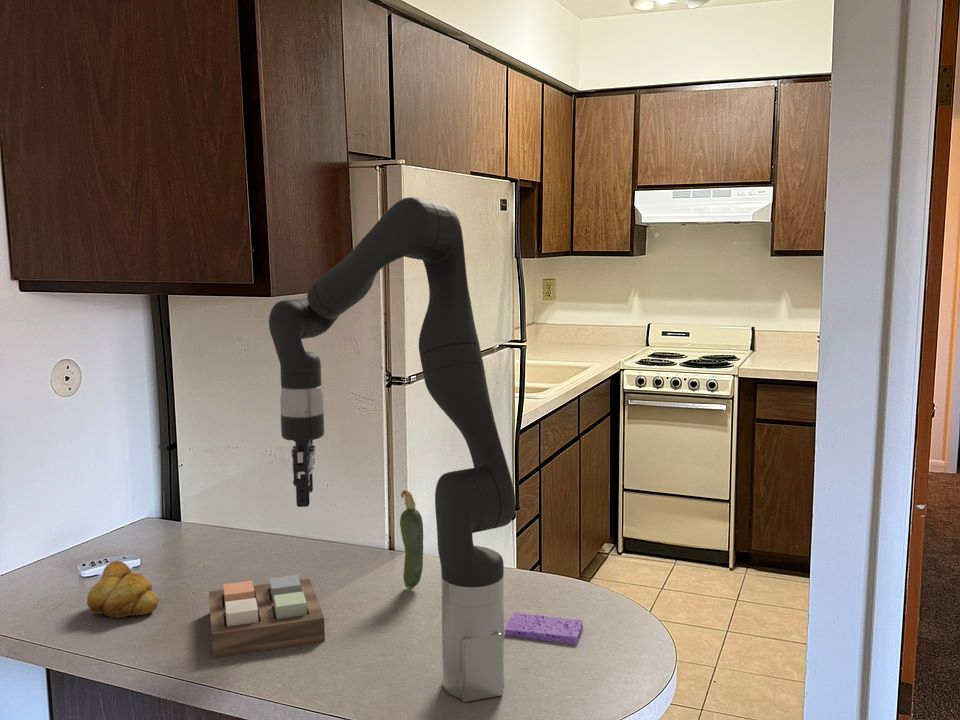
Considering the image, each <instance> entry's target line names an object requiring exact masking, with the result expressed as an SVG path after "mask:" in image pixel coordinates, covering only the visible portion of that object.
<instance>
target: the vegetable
mask: <svg viewBox="0 0 960 720" xmlns="http://www.w3.org/2000/svg"><path fill="white" fill-rule="evenodd" d="M400 497H401V499H404V505H405V510H403V512H402V513H401V515H400V518H399V528H400V533H401V538H402V544H403V545H404V562H403V564H404V565H403V577H402V578H403V583H404V587H406V589H407V590H408V591H412V590H413V589H414V588H415V587H416V586H417V585H418V584H419V583H420V581H421V578H422V573H423V568H424V567H423V566H424V564H423V563H424V561H423V560H424V523H423V517H422V515H421V512H420V511H419V510H417V508H416V505H417V504H416V502H415V500H414V497H413V494H411V492H410V491H409V490H407V489H404V490H402V492H401V493H400Z"/></svg>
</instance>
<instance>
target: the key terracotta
mask: <svg viewBox="0 0 960 720" xmlns="http://www.w3.org/2000/svg"><path fill="white" fill-rule="evenodd" d="M253 582H254V581H253V580H246V581H237V582H230V583H223V585H222V586H223V590H224V603H225V602H228V601H236V600H243V599H251V598H255V594H254V586H255V585H254V583H253Z"/></svg>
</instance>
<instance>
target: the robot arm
mask: <svg viewBox="0 0 960 720" xmlns="http://www.w3.org/2000/svg"><path fill="white" fill-rule="evenodd" d="M462 230H463V229H462V224H461V222H460V219H459V217H458V214H457V213H456V212H455V210H453V209H452V208H451V207H450V206H448V205H446V204H444V203H441V202H436V201H431V200H429V199H425V198H424V199H423V198H420V197H414V196H413V197H412V196H410V197H404V198H402V199H400V200H398V201H397V202H395V204H393V205H392V206H391V207H390V208H389V209H388V210H387V211H386V212H385V213H384V214H383V215H382V216H381V217H380V218H379V220H378V221H377V222H376V223H375V224H374V226H373V227H372V228H371V229H370V230H368V232H367V233H366V235H365V236H364V237H363V238H362V239H361V240H360V241H359V242H358V244H357V245H355V247H354V248H353V249H352V250H351V251H350V252H349V253H348V254H347V255H346V256H345V257H344V258H343V259H342V260H341V261H339V262H338V263H337V264H336V265H335V266H332V268H331V269H329V270H328V271H327V272H326V273H324V274H323V275H322V276H320V277H319V278H317V279H316V280H315V281H314V282H313V283H312V284H311V285H310V287H309V288H308V291H307V294H306V295H307V297H304V298H295V299H284V300H280V301H278V302H276V303H275V304H274V305H273V306H272V307H271V310H270V313H269V316H268V317H269V318H268V328H269V331H270V335H271V338H272V343H273V345H274V349H275V352H276V355H277V358H278V361H279V364H280V396H279V397H280V398H279V399H280V400H279V402H280V403H279V404H280V405H279V407H280V433H281V435H280V436H281V437H282V438H283V439H284V440H286V441H293V442H294V443H295V445H293V446H292V449H291V452H290V455H291V459H292V465H291V466H292V468H291V470H292V473H293V481H292V482H293V483H292V484H293V487H295V497H296V506H297V508H307V507H309V506H310V501H311V499H310V493H312V492H313V491H314V484H313V482H314V479H313V473H314V468H315V467H314V465H315V463H316V445H315V444H314V441H316V440H318V439H321V438H322V437H323V436H324V435H325V413H324V395H323V389H322V365H321V363H322V362H321V359H320V356H319V355H318V354H317V353H314V352H311V351H306V350H305V348H304V345H303V341H302V340H303V339H310V338H317V337H319V336H321V335H322V334H324V333H326V332H328V330H329V329H330V328H331V327H332V326H333V325H334V324H335V322H336V321H337V320H338V318H339V317H340V315H342V314H344V312H346V311H348V310H349V309H350V308H352V307H353V306H355V305H356V304H357V303H359V302H360V301H361V300H362V299H363V298H364V297H366V295H367V294H368V293H369V291H370V290H371V288H372V286H373V284H374V281H375V278H376V276H377V274H378V273H379V271H381V270H382V269H383V268H384V267H386V266H388V265H390V264H391V263H393V262H395V261H396V260H399V259H402V258H404V257H406V258H409V259H413V260H420V261H423V264H424V268H425V272H426V277H427V284H428V290H429V291H428V292H429V295H428V296H429V297H428V299H429V300H428V305H427V309H426V313H425V316H424V318H423V320H422V321H423V322H422V325H421V329H420V332H419V338H418V353H419V354H418V355H419V358H420V363H421V370H422V375H423V379H424V380H423V381H424V384H425V386H426V389H427V391H428V393H429V395H430V397H431V398H432V399H433V401H435V403H436V404H437V405H438V406H439V408H440V409H441V410H442V412H444V414H445V415H446V416H447V417H448V418H449V419H450V420H451V422H453V424H454V425H455V427H456V428H457V429H458V431H459V432H460V433H461V435H462V437H463V438H464V440H465V443H466V445H467V448H468V449H469V453H470V456H471V459H472V464H473V467H470V468H463V469H460V470H453V471H449V472H446V473H443V474H442V475H441V476H440V477H439V478H438V480H437V482H436V486H435V493H434V504H435V505H434V510H435V520H436V532H437V533H436V536H437V552H438V557H439V563H440V568H441V569H440V571H441V572H440V573H441V575H440V576H441V631H442V632H441V638H442V639H441V641H442V643H441V644H442V646H441V647H442V654H441V655H442V686H443V689H444V691H445V692H446V693H448V694H449V695H451V696H452V697H455V698H458V699H460V700H461V701H462V702H463V703H468V702H472V701H473V702H474V701H478V700H483V699H484V700H485V699H488V698H494V697H499V696H503V695H504V686H505V649H504V648H505V642H504V641H505V637H504V636H505V630H504V629H505V627H504V626H505V624H504V623H505V621H504V620H505V619H504V618H505V617H504V615H505V613H504V612H505V611H504V610H505V609H504V608H505V607H504V606H505V605H504V597H505V596H504V593H505V592H504V589H505V588H504V587H505V586H504V584H505V583H504V582H505V581H504V579H505V578H504V575H505V573H504V569H505V568H504V564H505V563H504V559H503V556H501V554H500V553H499V552H497V551H495V550H494V549H492V548H488V547H484V546H480V545H474V539H473V534H474V533H478V532H483V531H488V530H494V529H497V528H499V529H500V528H502V527H505V526H508V525H510V523H511V522H512V521H513V518H514V517H515V516H514V515H515V513H516V495H515V490H514V485H513V480H512V477H511V472H510V470H509V466H508V462H507V460H506V456H505V453H504V450H503V449H504V448H503V446H502V443H501V439H500V435H499V432H498V429H497V425H496V424H497V423H496V421H495V417H494V413H493V412H494V411H493V408H492V402H491V399H490V398H491V397H490V393H489V389H488V388H489V387H488V383H487V377H486V371H485V365H484V360H483V356H482V351H481V345H480V341H479V338H478V333H477V328H476V323H475V319H474V312H473V308H472V302H471V301H472V300H471V296H470V291H469V284H468V277H467V266H466V265H467V264H466V257H465V254H466V253H465V246H464V245H465V243H464V236H463V231H462Z"/></svg>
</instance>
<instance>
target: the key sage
mask: <svg viewBox="0 0 960 720" xmlns="http://www.w3.org/2000/svg"><path fill="white" fill-rule="evenodd" d="M274 613H275V617H276V619H283V618H290V617H297V616H304V615H307V602H306V599H305V596H304V593H303V591H302V592H295V593H287V594H280V595H274Z"/></svg>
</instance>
